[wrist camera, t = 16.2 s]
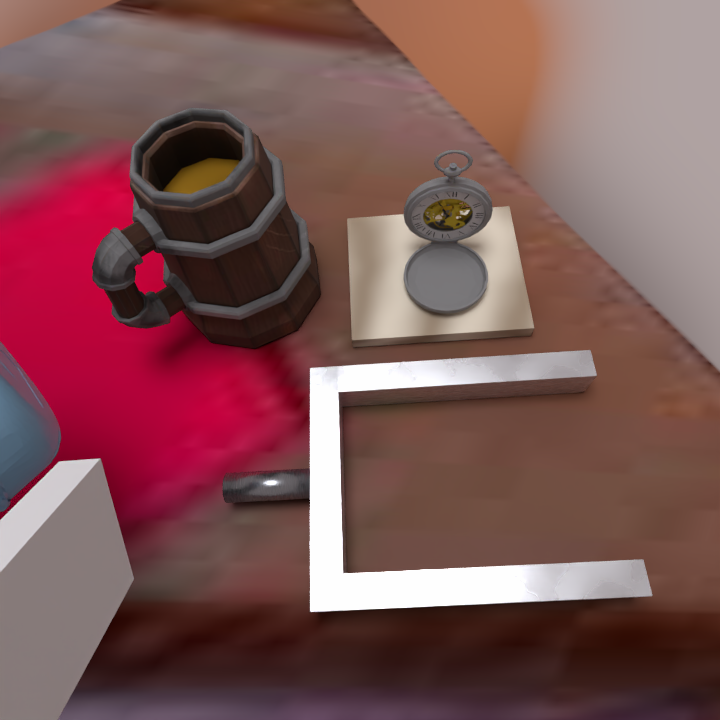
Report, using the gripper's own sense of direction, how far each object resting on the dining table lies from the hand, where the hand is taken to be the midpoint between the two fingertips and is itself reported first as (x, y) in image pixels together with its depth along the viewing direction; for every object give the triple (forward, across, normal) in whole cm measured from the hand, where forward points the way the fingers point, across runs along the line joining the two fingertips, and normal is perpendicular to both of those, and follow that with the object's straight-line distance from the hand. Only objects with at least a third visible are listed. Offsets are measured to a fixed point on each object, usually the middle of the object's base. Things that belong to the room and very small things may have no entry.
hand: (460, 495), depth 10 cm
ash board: (+36, +4, -3) cm, 37 cm away
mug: (+36, -13, -4) cm, 39 cm away
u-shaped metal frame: (+24, +1, -15) cm, 29 cm away
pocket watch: (+36, +5, -3) cm, 36 cm away
